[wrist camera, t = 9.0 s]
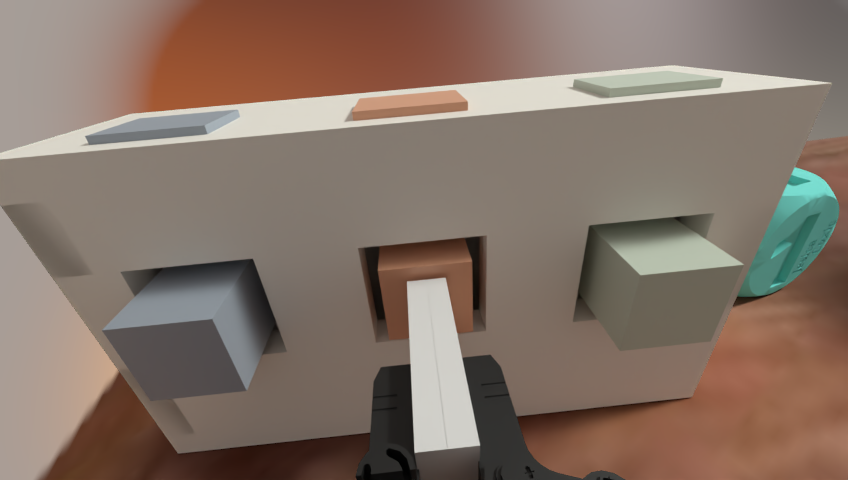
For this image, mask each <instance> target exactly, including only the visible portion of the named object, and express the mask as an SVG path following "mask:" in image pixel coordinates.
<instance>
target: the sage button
mask: <svg viewBox="0 0 848 480" xmlns="http://www.w3.org/2000/svg"><path fill="white" fill-rule="evenodd" d="M743 266H744V264H742V263H741V262H739V261H738V260H736V259H735V258H733V257H732V256H730V255H729V254H727V253H726V252H724V251H723V250H721V249H720V248H718V247H717V246H715V245H714V244H712V243H711V242H709V241H708V240H706V239H705V238H703V237H702V236H700V235H699V234H697V233H696V232H694V231H692V230H691V229H689V228H688V227H686V226H685V225H683V224H682V223H680V222H679V221H677V220H676V219H674V218H673V217H668V218H658V219H648V220H638V221H627V222H617V223H607V224H597V225H589V229H588V235H587V240H586V246H585V252H584V258H583V264H582V270H581V276H580V282H579V288H578V293H579V294H580V295H581V297H582V298H583V300H584V301H585V302H586V304H587V305H588V307H589V308H590V309H591V311H592V312H593V314H594V315H595V317H596V318H597V319H598V321H599V322H600V324H601V325H602V326H603V328H604V329H605V331H606V332H607V333H608V335H609V336H610V338H611V339H612V341H613V342H614V343H615V345H616V346H617V348H618V349H619V350H620V351H626V350H635V349H644V348H654V347H663V346H672V345H682V344H691V343H700V342H710V341H711V340H712V337H713V335H714V333H715V330H716V328H717V326H718V324H719V321H720V319H721V317H722V314H723V312H724V310H725V308H726V305H727V303H728V301H729V298H730V296H731V294H732V291H733V289H734V287H735V285H736V282H737V280H738V278H739V275H740V273H741V271H742V268H743Z"/></svg>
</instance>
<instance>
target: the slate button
mask: <svg viewBox="0 0 848 480" xmlns="http://www.w3.org/2000/svg"><path fill="white" fill-rule="evenodd" d="M275 322H276V320H275V317H274V315H273V312H272V309H271V307H270V304H269V301H268V298H267V296H266V293H265V290H264V287H263V285H262V282H261V279H260V277H259V274H258V271H257V268H256V266H255V263H254V260H253V259H244V260H233V261H223V262H213V263H203V264H193V265H183V266H173V267H164V268H163V269H162V270H161V271H160V272H159V273H158V274H157V275H156V276H155V277H154V278H153V279H152V280H151V281H150V282H149V283H148V284H147V285H146V286H145V287H144V288H143V289H142V290H141V291H140V292H139V293H138V294H137V295H136V296H135V297H134V298H133V299H132V300H131V301H130V302H129V303H128V304H127V305H126V306H125V307H124V308H123V309H122V310H121V311H120V312H119V313H118V314H117V315H116V316H115V317H114V318H113V319H112V321H111V322H110V323H109V324H108V325H107V326H106V327H105V328H104V329H103V330H102V331H103V333H104V334H105V336H106V337H107V339H108V340H109V342H110V343H111V344H112V346H113V347H114V349H115V350H116V352H117V353H118V355H119V356H120V357H121V359H122V360H123V362H124V363H125V365H126V366H127V368H128V369H129V370H130V372H131V373H132V375H133V376H134V378H135V379H136V380H137V382H138V383H139V385H140V386H141V388H142V389H143V391H144V392H145V393H146V395H147V396H148V398H149V399H150V401H157V400H166V399H176V398H185V397H194V396H204V395H213V394H223V393H232V392H241V391H247V389H248V387H249V384H250V382H251V380H252V377H253V375H254V372H255V370H256V368H257V365H258V363H259V360H260V358H261V356H262V353H263V351H264V349H265V346H266V344H267V341H268V339H269V337H270V334H271V332H272V329H273V327H274V325H275Z"/></svg>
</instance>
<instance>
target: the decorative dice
mask: <svg viewBox="0 0 848 480" xmlns="http://www.w3.org/2000/svg"><path fill="white" fill-rule="evenodd" d="M838 216H839V204H838V201H837V199H836V197H835V195H834V193H833V191H832V190H831V188H830V187H829V185H828V184H827V183H826V182H825V181H824V180H823V179H822V178H820V177H819V176H817V175H815V174H813V173H810V172H808V171H805V170H802V169H799V168H794V170H793V172H792V174H791V177H790V179H789V181H788V183H787V186H786V188H785V190H784V192H783V195H782V197H781V199H780V201H779V204H778V206H777V208H776V210H775V212H774V215H773V217H772V219H771V221H770V224H769V226H768V228H767V230H766V233H765V235H764V237H763V239H762V242H761V244H760V246H759V248H758V251H757V253H756V255H755V257H754V259H753V262H752V264H751V266H750V268H749V271H748V273H747V275H746V277H745V280H744V282H743V284H742V286H741V289H740V291H739V293H738V295H737V296H739V297H754V296H762V295H768V294H771V293H773V292H776V291H778V290H779V289H781V288H783V287H784V286H786V285H787V284H789V283H790V282H791V281H793V280H794V279H795V278H796V277H798V276H799V275H800V274H801V273H802V272H803V271H804V270H805V269H806V268H807V267H808V266H809V265H810V264H811V263H812V262H813V260H814V259H815V258H816V257H817V255H818V254H819V253H820V252H821V250H822V249H823V247H824V246H825V244H826V243H827V241H828V240H829V238H830V236H831V234H832V232H833V230H834V228H835V225H836V223H837V220H838Z"/></svg>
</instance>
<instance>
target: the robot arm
mask: <svg viewBox="0 0 848 480" xmlns="http://www.w3.org/2000/svg"><path fill="white" fill-rule="evenodd" d="M407 296H408V318H409V340H410V362H411V364H405V365H396V366H386V367H381V368H380V370H379V372H378V374H377V376H376V378H375V379H374V382H373V400H372V413H371V429H370V445H369V452H367V453H366V454H365V456H364V457H363V459H362V460H361V462H360V463H359V465H358V469H357V473H356V479H357V480H625V479H623V478H621V477H620V476H618V475H616V474H615V473H611V472H607V471H595V472H591V473H590V474H588V475H587V476H586V477H584V478H583V479H581V478H577V477H573V476H568V475H564V474H560V473H557V472H554V471H551V470H549V469H547V468H546V467H544V466H542V465H541V464H540V463H539V462H537V461H536V460H535V459H534V458H533V456H532V455H531V454H530V452H529V451H528V449H527V446H526V444H525V441H524V438H523V435H522V432H521V429H520V426H519V422H518V419H517V416H516V413H515V410H514V407H513V404H512V400H511V397H510V395H509V391H508V388H507V385H506V381H505V378H504V375H503V372H502V369H501V366H500V365H499V364H498V363H497V362H496V361H495V359H494V358H493V357H492V356H491V355H481V356H472V357H463V358H462V355H461V350H460V345H459V340H458V335H457V331H456V326H455V321H454V316H453V311H452V306H451V301H450V297H449V292H448V287H447V282H446V278H437V279H427V280H417V281H407Z"/></svg>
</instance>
